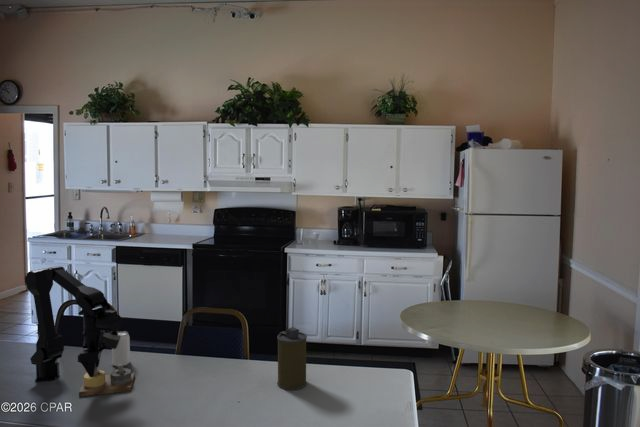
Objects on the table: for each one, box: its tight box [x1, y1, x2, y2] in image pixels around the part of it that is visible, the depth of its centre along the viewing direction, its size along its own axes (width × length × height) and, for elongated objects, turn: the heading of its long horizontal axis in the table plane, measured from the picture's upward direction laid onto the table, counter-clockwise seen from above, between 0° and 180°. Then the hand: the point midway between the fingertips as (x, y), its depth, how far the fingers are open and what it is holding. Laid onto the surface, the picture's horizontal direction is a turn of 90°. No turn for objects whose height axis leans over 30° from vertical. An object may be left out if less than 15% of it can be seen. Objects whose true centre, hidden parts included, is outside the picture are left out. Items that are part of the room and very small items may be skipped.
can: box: [111, 330, 131, 367], centre depth 183 cm, size 6×6×12 cm
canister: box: [276, 326, 308, 391], centre depth 166 cm, size 11×10×20 cm
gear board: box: [78, 364, 136, 397], centre depth 164 cm, size 16×12×7 cm
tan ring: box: [83, 369, 106, 387], centre depth 163 cm, size 6×6×3 cm
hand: (94, 371), depth 162 cm, fingers open, 8 cm apart
